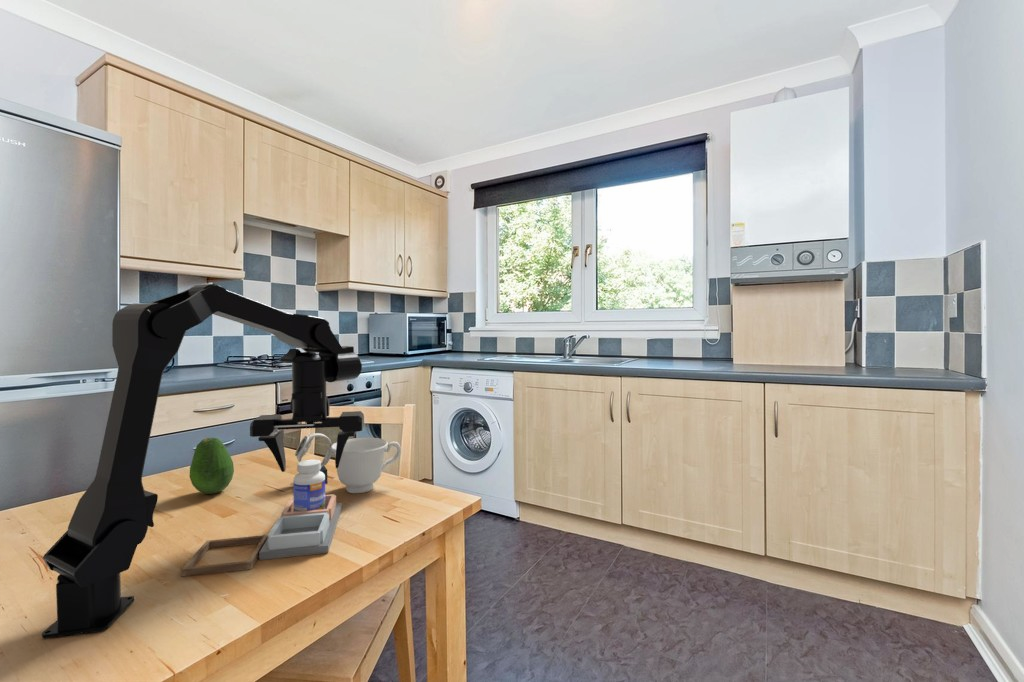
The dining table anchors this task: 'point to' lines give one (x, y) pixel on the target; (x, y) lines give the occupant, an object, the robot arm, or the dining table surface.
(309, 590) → the dining table surface
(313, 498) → the pill bottle
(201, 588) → the dining table surface
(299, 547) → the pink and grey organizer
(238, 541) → the tray
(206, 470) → the fruit
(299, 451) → the watch
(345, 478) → the teacup
